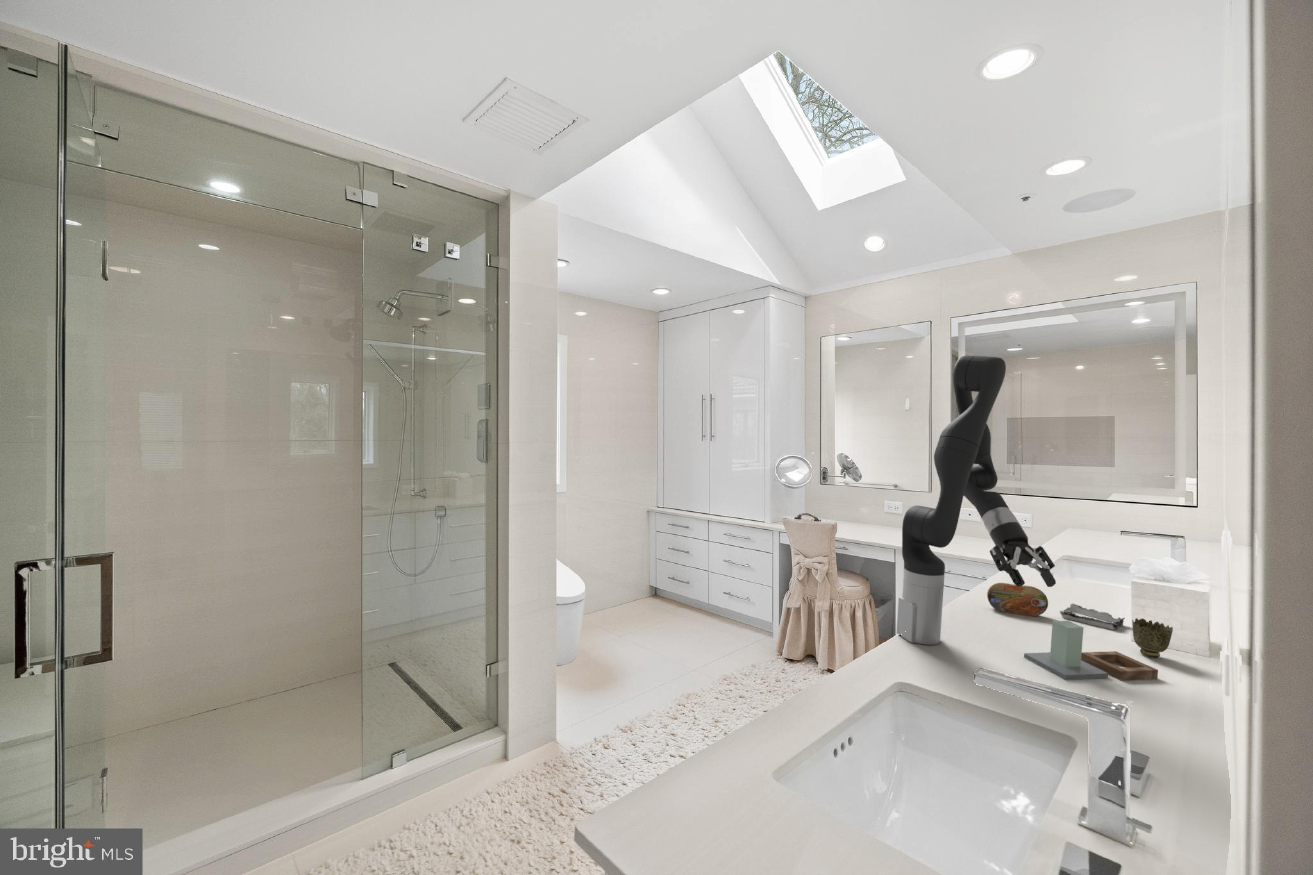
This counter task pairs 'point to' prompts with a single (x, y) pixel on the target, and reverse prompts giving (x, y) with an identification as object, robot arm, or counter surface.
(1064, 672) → the slate coaster
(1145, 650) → the cup
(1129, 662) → the walnut pocket
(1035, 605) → the tin
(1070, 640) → the sage block
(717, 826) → the counter surface
